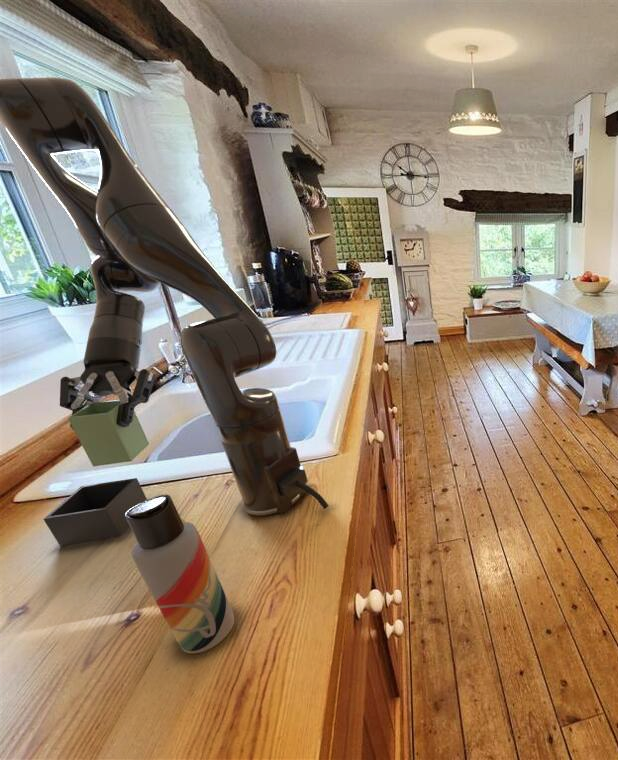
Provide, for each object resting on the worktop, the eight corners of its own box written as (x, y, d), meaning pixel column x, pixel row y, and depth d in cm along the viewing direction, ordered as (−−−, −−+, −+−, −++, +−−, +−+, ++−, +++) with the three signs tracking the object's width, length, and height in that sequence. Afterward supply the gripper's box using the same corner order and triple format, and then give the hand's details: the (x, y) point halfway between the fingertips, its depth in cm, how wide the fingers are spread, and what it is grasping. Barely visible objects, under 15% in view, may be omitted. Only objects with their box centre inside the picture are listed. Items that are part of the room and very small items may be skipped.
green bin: (113, 448, 79) (91, 402, 75) (149, 444, 80) (128, 398, 76) (93, 466, 74) (67, 418, 70) (131, 461, 75) (108, 413, 71)
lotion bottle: (193, 664, 47) (123, 530, 39) (172, 639, 50) (102, 510, 42) (244, 624, 51) (190, 496, 43) (221, 603, 54) (167, 480, 46)
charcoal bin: (96, 513, 72) (81, 486, 69) (150, 505, 73) (136, 477, 71) (61, 549, 64) (43, 519, 62) (122, 538, 66) (106, 509, 63)
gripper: (53, 339, 74) (33, 428, 68) (145, 331, 77) (133, 416, 71) (86, 357, 81) (70, 439, 75) (169, 349, 83) (160, 428, 78)
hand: (101, 428), depth 73 cm, fingers closed on green bin, 6 cm apart
